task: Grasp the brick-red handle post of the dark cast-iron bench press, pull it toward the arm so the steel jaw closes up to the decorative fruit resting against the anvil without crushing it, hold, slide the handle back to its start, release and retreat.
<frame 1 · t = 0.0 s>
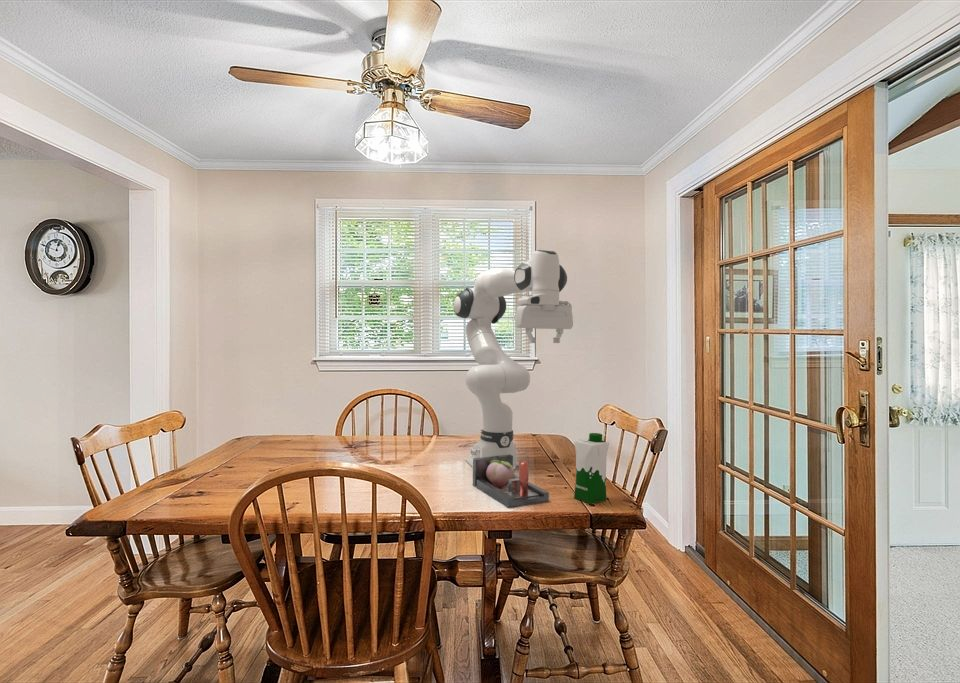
hand: (544, 343, 167), 48 cm above the table, fingers open, 8 cm apart
press base: (508, 492, 165), on the table
decorative fruit: (500, 488, 170), resting on press base
milk carton: (589, 500, 160), on the table
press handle: (520, 480, 159), point 6 cm above the table, slide at 0.0 cm
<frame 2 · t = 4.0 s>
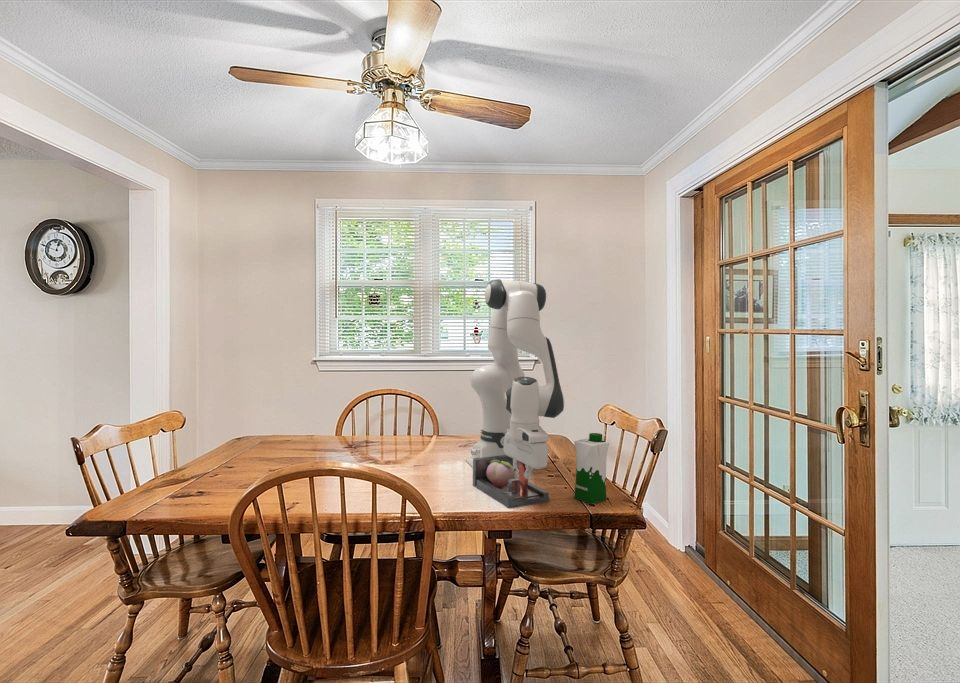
hand: (523, 476, 157), 8 cm above the table, fingers closed on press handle, 3 cm apart
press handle: (520, 480, 159), point 6 cm above the table, slide at 0.0 cm, touching gripper
everything else where it was.
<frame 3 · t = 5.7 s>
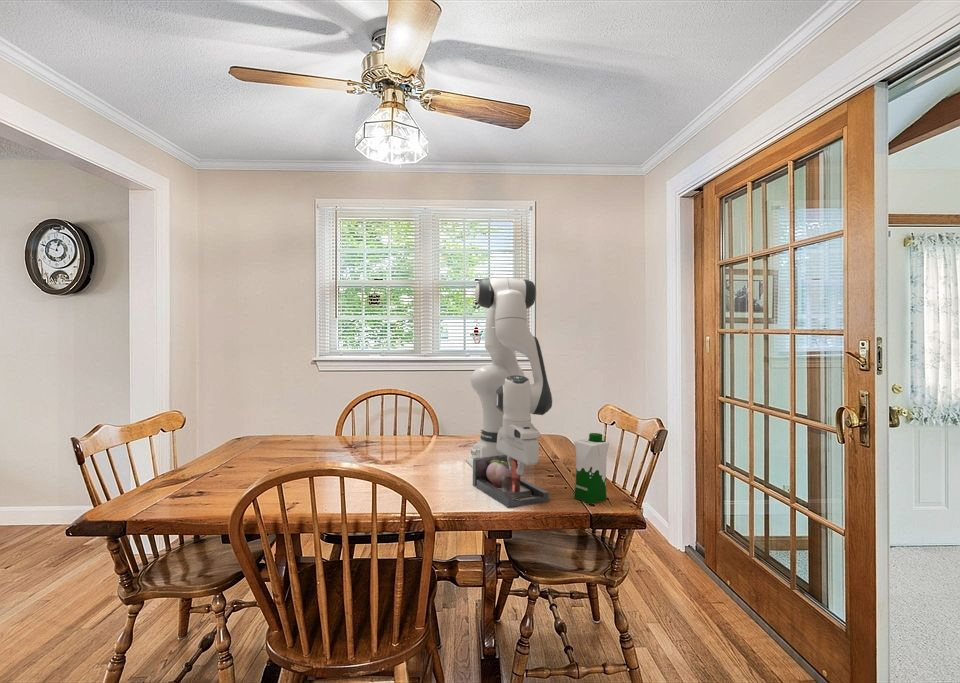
hand: (515, 472, 162), 8 cm above the table, fingers closed on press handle, 3 cm apart
decorative fruit: (500, 488, 170), resting on press base, touching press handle
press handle: (513, 476, 163), point 6 cm above the table, slide at 4.6 cm, touching decorative fruit, gripper
everything else where it was.
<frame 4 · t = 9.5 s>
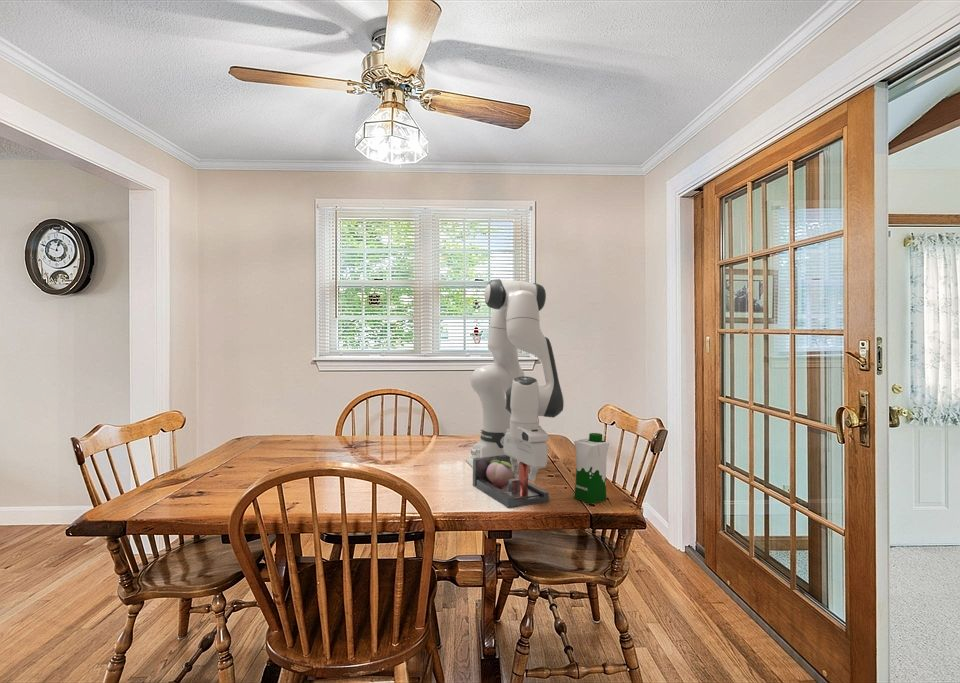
hand: (523, 476, 157), 8 cm above the table, fingers open, 8 cm apart
decorative fruit: (500, 488, 170), resting on press base
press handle: (520, 480, 159), point 6 cm above the table, slide at 0.0 cm
everything else where it was.
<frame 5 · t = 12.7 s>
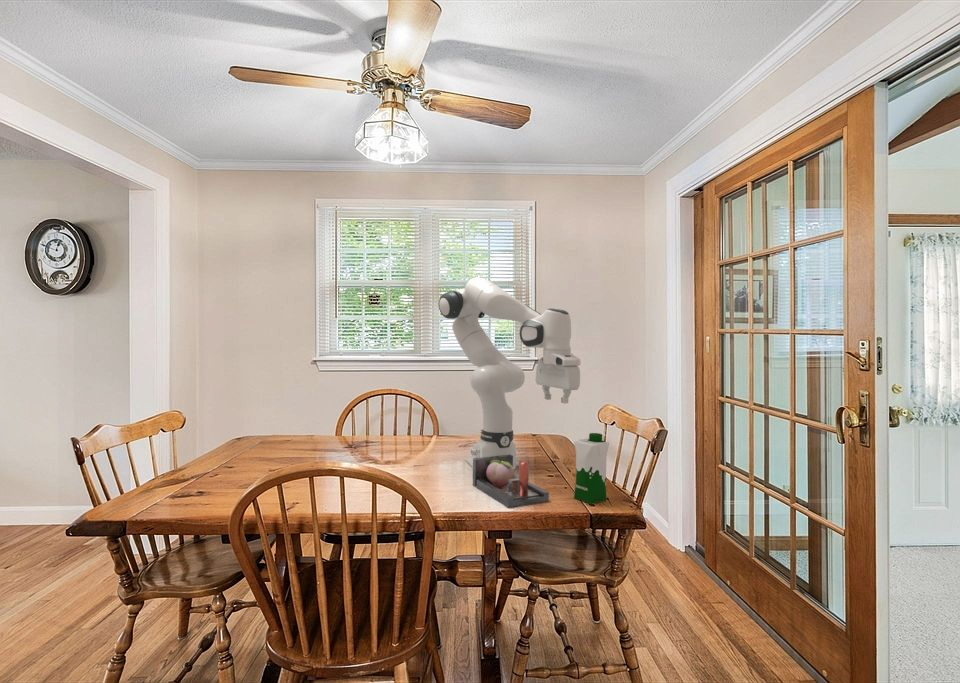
hand: (556, 401, 168), 29 cm above the table, fingers open, 8 cm apart
nothing on the table moved.
at the end: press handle slide at 0.0 cm; decorative fruit moved 0.2 cm from its start; the gripper is holding nothing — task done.
